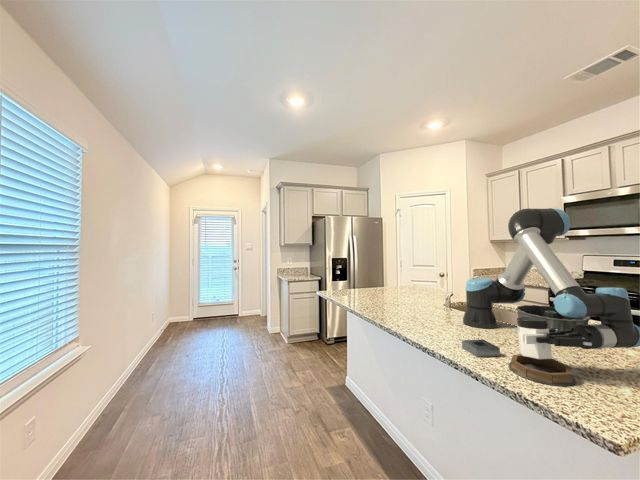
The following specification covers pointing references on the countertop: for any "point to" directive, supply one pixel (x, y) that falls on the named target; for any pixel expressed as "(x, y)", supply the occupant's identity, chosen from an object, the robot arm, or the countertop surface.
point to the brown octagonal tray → (542, 370)
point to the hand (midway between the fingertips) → (524, 338)
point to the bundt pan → (551, 316)
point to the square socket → (480, 348)
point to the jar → (534, 327)
